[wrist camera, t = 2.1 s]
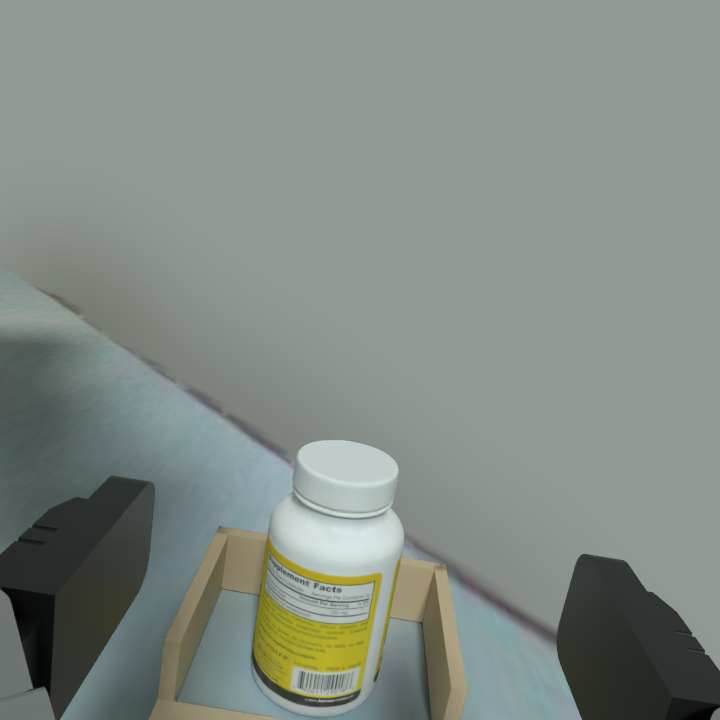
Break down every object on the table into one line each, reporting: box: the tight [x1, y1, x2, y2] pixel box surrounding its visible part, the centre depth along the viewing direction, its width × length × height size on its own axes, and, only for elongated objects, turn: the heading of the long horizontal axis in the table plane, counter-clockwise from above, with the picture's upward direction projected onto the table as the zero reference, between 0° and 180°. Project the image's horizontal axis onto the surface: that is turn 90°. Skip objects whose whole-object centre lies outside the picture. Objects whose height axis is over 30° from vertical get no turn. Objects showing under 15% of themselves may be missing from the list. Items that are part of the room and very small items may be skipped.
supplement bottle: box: [252, 440, 404, 717], centre depth 26 cm, size 5×5×10 cm
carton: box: [148, 526, 467, 720], centre depth 23 cm, size 17×11×3 cm
